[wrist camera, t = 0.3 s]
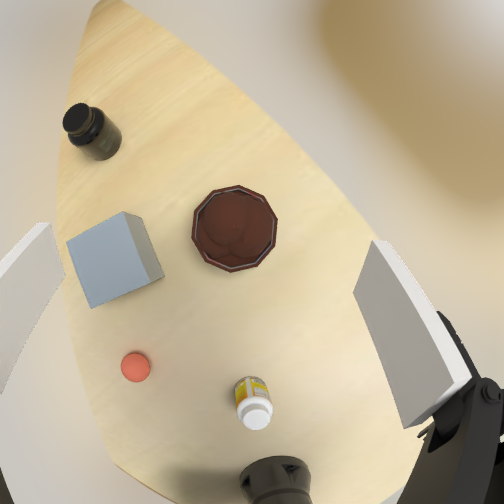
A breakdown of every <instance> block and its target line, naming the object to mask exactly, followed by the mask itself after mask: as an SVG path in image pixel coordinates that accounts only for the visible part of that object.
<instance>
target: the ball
mask: <svg viewBox="0 0 504 504" xmlns="http://www.w3.org/2000/svg"><path fill="white" fill-rule="evenodd" d="M121 371H122V373H123V375H124V376H125V378H127V379H128V380H130V381H132V382H141V381H143V380H145V379H146V378H147V377H148V375H149V372H150V366H149V363H148V361H147V360H146V358H145V357H143V356H142V355H140V354H136V353H132V354H129V355H127V356H125V357H124V359H123V360H122V363H121Z"/></svg>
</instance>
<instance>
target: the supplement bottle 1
mask: <svg viewBox="0 0 504 504" xmlns="http://www.w3.org/2000/svg"><path fill="white" fill-rule="evenodd" d="M63 128H64V129H65V131H67V132H68V138H69V140H70V142H71V143H72V144H73V145H75V146H76V147H77V148H79V149H80V150H82V151H83V152H85V153H86V154H88V155H89V156H91V157H92V158H94V159H96V160H105V159H107V158H109V157H111V156H112V155H113V154H114V153H115V152H116V151H117V150H118V148H119V146H120V143H121V134H120V131H119V129H118V128H117V127H116V126H115V125H114V124H113V122H112V121H111V120H110V119H109V118H108V117H107V116H106V115H105V114H104V112H103V111H102V110H100V109H99V108H97V107H89V106H88V105H86V104H84V103H78V104H75V105H73V106H72V107H71V108H70V109H69V110H68V111H67V112H66V114H65V116H64V118H63Z"/></svg>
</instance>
